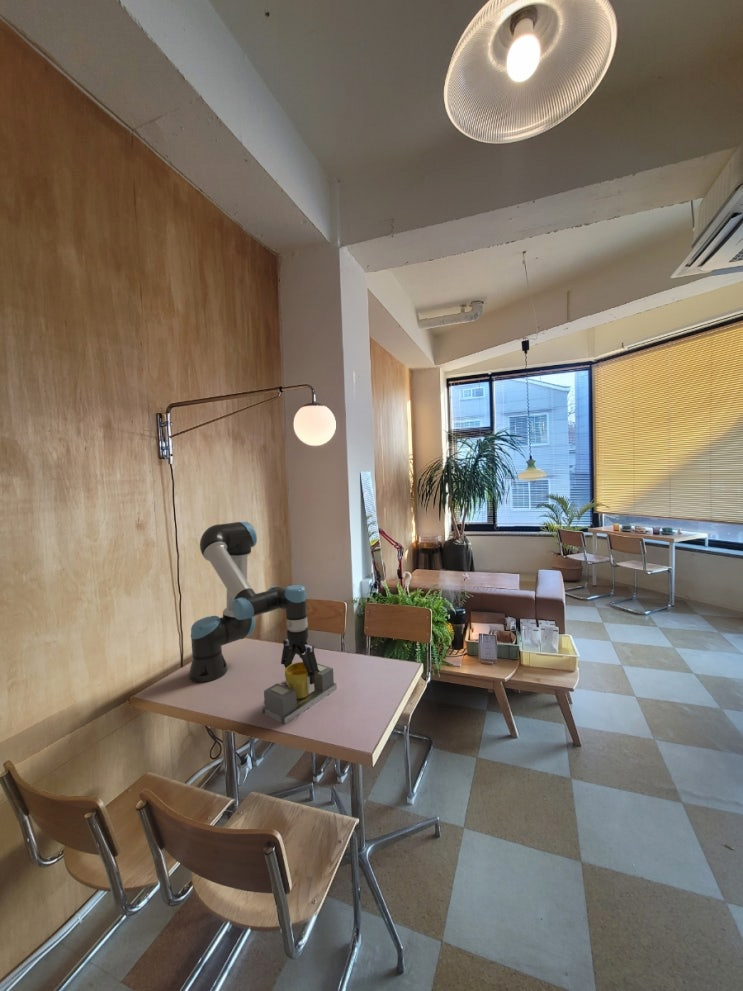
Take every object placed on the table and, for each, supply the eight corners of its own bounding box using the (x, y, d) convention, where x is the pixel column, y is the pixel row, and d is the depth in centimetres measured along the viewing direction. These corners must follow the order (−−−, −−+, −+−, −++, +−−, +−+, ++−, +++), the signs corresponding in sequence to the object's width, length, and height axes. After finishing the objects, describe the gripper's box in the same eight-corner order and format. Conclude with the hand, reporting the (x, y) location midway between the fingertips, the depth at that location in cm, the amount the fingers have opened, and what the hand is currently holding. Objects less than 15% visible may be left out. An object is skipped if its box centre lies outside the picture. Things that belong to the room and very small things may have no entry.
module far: (304, 683, 152) (303, 667, 152) (315, 677, 157) (314, 661, 157) (323, 690, 146) (322, 674, 146) (333, 683, 151) (332, 667, 151)
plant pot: (308, 702, 138) (307, 675, 138) (281, 700, 140) (280, 674, 140) (318, 687, 148) (317, 662, 148) (293, 685, 150) (291, 660, 150)
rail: (262, 712, 137) (261, 707, 137) (314, 680, 158) (314, 675, 158) (285, 724, 130) (284, 718, 130) (336, 688, 151) (336, 683, 151)
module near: (264, 707, 137) (263, 689, 137) (278, 699, 142) (277, 682, 142) (283, 716, 131) (282, 697, 131) (297, 707, 136) (296, 689, 136)
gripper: (269, 626, 147) (272, 683, 148) (312, 638, 133) (315, 701, 134) (284, 619, 153) (287, 675, 154) (327, 631, 139) (330, 691, 140)
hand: (300, 687), depth 144 cm, fingers closed on plant pot, 10 cm apart
